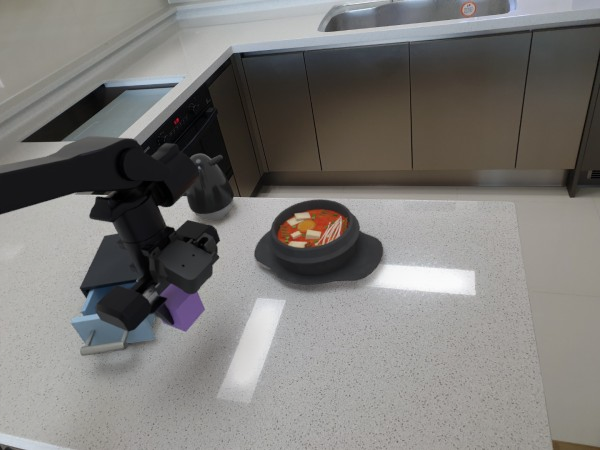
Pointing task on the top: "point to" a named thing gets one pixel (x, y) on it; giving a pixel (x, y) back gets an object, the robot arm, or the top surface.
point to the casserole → (318, 245)
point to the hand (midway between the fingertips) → (181, 311)
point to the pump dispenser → (210, 189)
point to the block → (182, 307)
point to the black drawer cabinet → (111, 268)
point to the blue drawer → (107, 327)
